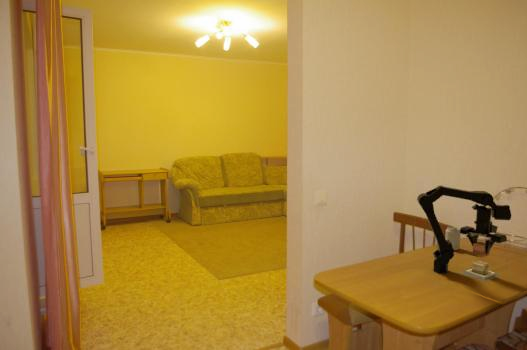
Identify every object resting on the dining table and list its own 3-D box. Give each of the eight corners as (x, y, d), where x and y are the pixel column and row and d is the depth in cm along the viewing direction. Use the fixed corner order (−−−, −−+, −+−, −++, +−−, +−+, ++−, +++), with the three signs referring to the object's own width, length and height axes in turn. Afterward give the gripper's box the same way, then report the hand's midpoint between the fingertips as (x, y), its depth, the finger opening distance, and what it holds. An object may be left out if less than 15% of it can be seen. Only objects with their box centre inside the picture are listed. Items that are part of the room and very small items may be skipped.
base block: (482, 276, 175) (483, 266, 175) (471, 273, 180) (472, 262, 179) (488, 274, 178) (489, 264, 177) (478, 270, 182) (478, 260, 181)
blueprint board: (485, 283, 171) (485, 279, 170) (460, 274, 181) (460, 270, 181) (500, 277, 177) (500, 273, 176) (475, 269, 187) (475, 265, 187)
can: (462, 250, 213) (463, 229, 211) (448, 251, 213) (449, 230, 211) (455, 246, 220) (456, 226, 218) (442, 246, 220) (443, 226, 219)
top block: (483, 257, 174) (484, 246, 173) (472, 253, 178) (473, 243, 178) (489, 254, 177) (490, 244, 176) (478, 251, 181) (479, 241, 180)
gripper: (514, 221, 171) (512, 254, 173) (473, 212, 187) (471, 243, 189) (500, 224, 166) (498, 259, 168) (459, 216, 182) (458, 248, 184)
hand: (481, 252), depth 177 cm, fingers closed on top block, 5 cm apart
